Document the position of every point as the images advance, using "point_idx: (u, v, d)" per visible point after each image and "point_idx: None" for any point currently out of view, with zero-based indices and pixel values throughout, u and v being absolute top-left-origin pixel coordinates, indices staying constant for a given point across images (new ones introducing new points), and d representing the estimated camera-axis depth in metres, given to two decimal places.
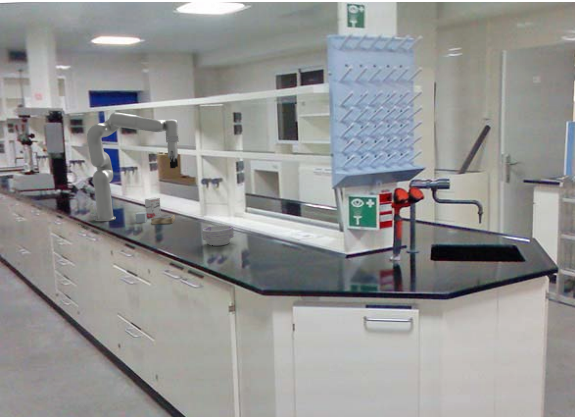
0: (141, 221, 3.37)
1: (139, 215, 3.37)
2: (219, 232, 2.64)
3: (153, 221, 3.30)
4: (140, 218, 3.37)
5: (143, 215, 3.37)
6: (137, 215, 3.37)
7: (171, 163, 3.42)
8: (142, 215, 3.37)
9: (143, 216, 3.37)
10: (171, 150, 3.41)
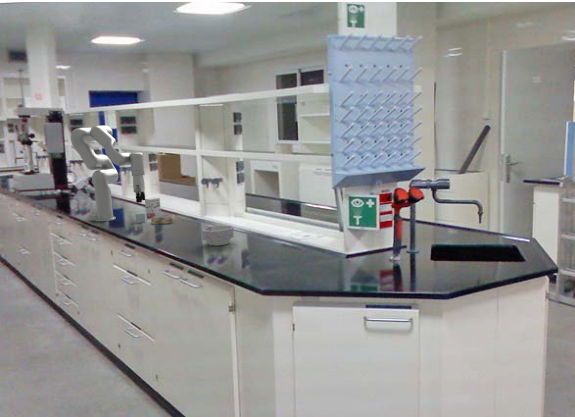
0: (141, 221, 3.37)
1: (139, 215, 3.37)
2: (219, 232, 2.64)
3: (153, 221, 3.30)
4: (140, 218, 3.37)
5: (143, 215, 3.37)
6: (137, 215, 3.37)
7: (137, 197, 3.32)
8: (142, 215, 3.37)
9: (143, 216, 3.37)
10: (137, 184, 3.31)
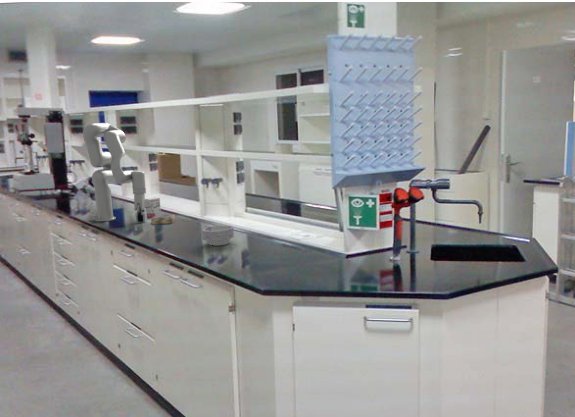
0: None
1: None
2: (219, 232, 2.64)
3: (153, 221, 3.30)
4: None
5: (143, 215, 3.37)
6: None
7: (138, 217, 3.36)
8: None
9: (143, 216, 3.37)
10: (138, 202, 3.33)
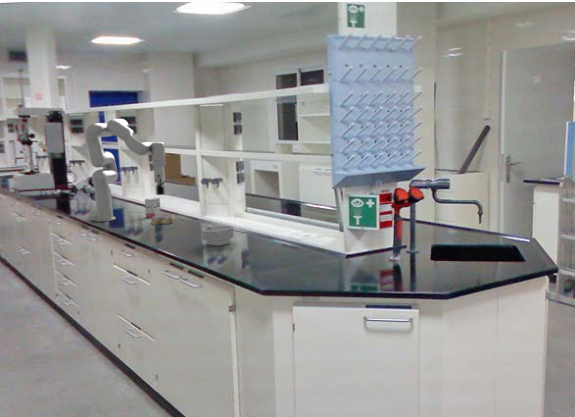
0: None
1: None
2: (219, 232, 2.64)
3: (153, 221, 3.30)
4: None
5: (163, 187, 3.31)
6: None
7: (158, 189, 3.29)
8: None
9: (163, 188, 3.31)
10: (158, 174, 3.27)
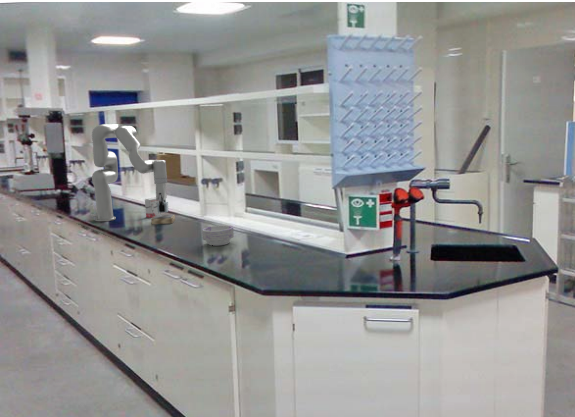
0: None
1: None
2: (219, 232, 2.64)
3: (153, 221, 3.30)
4: None
5: (165, 205, 3.32)
6: None
7: (160, 207, 3.31)
8: (164, 205, 3.32)
9: (165, 206, 3.33)
10: (159, 192, 3.29)
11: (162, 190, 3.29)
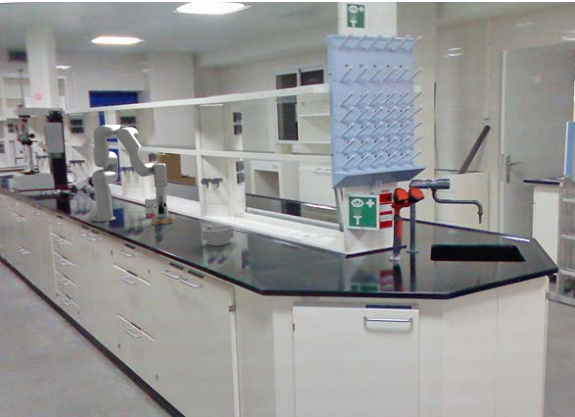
0: (163, 216, 3.33)
1: None
2: (219, 232, 2.64)
3: (153, 221, 3.30)
4: None
5: (165, 209, 3.33)
6: None
7: (159, 209, 3.30)
8: (164, 209, 3.33)
9: (165, 210, 3.33)
10: (159, 195, 3.29)
11: (162, 193, 3.29)
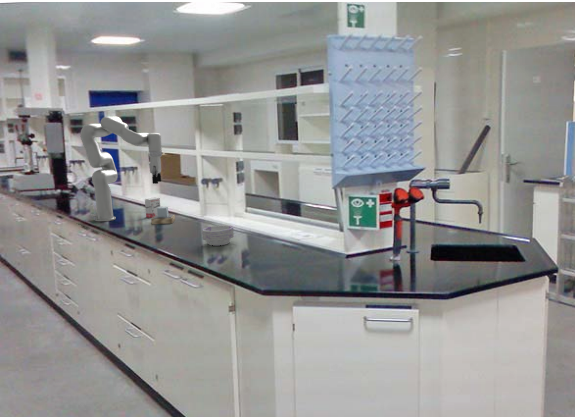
0: (163, 216, 3.33)
1: (161, 209, 3.33)
2: (219, 232, 2.64)
3: (153, 221, 3.30)
4: (162, 213, 3.33)
5: (165, 209, 3.33)
6: (159, 209, 3.33)
7: (153, 178, 3.28)
8: (164, 209, 3.33)
9: (165, 210, 3.33)
10: (154, 165, 3.28)
11: (156, 163, 3.28)
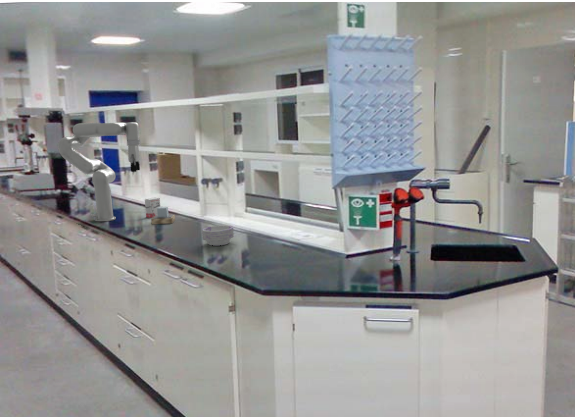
0: (163, 216, 3.33)
1: (161, 209, 3.33)
2: (219, 232, 2.64)
3: (153, 221, 3.30)
4: (162, 213, 3.33)
5: (165, 209, 3.33)
6: (159, 209, 3.33)
7: (132, 167, 3.37)
8: (164, 209, 3.33)
9: (165, 210, 3.33)
10: (132, 153, 3.36)
11: (134, 151, 3.37)
